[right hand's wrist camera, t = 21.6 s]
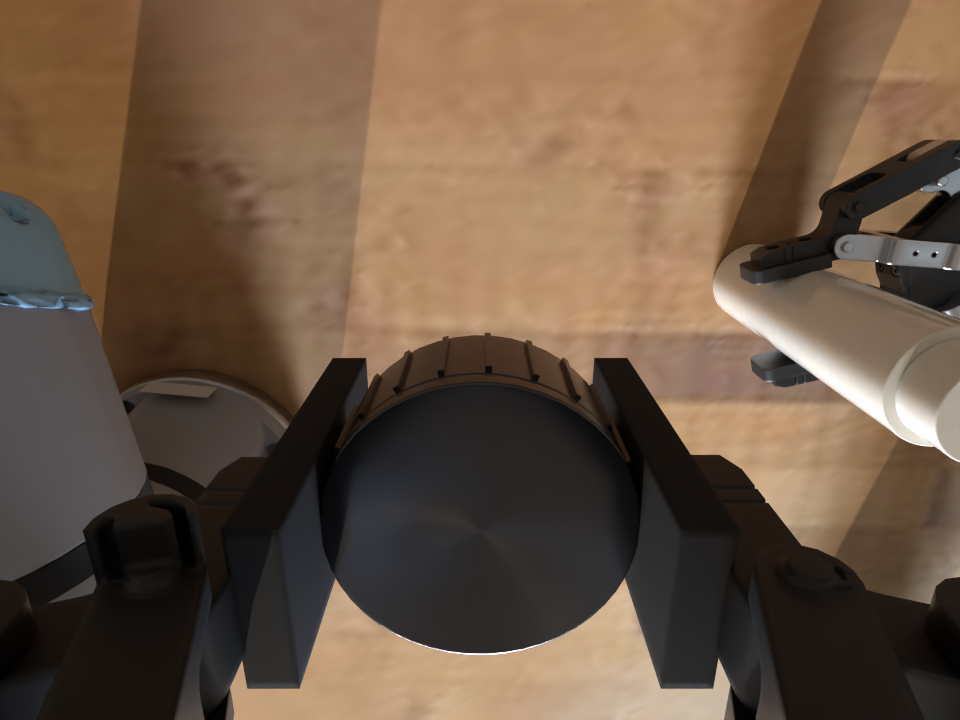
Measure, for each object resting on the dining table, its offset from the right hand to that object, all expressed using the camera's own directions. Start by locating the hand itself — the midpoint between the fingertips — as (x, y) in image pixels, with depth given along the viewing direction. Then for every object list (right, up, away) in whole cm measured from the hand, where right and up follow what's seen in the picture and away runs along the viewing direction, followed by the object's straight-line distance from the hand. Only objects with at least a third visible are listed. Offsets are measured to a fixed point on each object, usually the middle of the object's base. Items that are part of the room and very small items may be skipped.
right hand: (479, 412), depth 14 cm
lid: (0, -1, -4) cm, 4 cm away
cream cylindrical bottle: (+17, +6, +24) cm, 30 cm away
